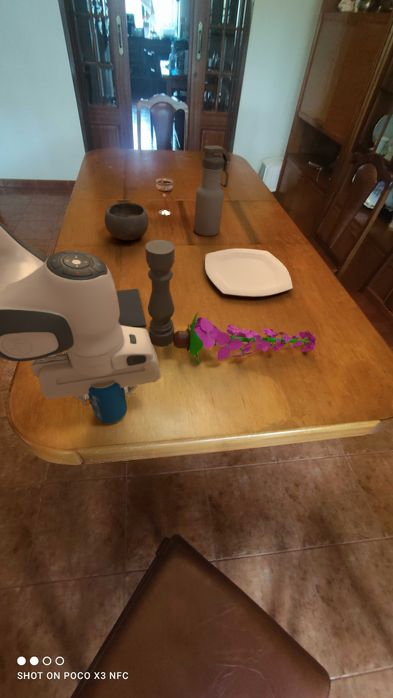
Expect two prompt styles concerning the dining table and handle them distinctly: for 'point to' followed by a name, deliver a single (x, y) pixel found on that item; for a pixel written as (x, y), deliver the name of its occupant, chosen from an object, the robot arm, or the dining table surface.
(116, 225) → the bowl
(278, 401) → the dining table surface
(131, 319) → the mat
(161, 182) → the wineglass
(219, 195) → the water bottle
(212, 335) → the potted plant
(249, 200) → the dining table surface
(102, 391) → the beverage can
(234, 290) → the plate
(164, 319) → the candle holder
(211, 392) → the dining table surface
